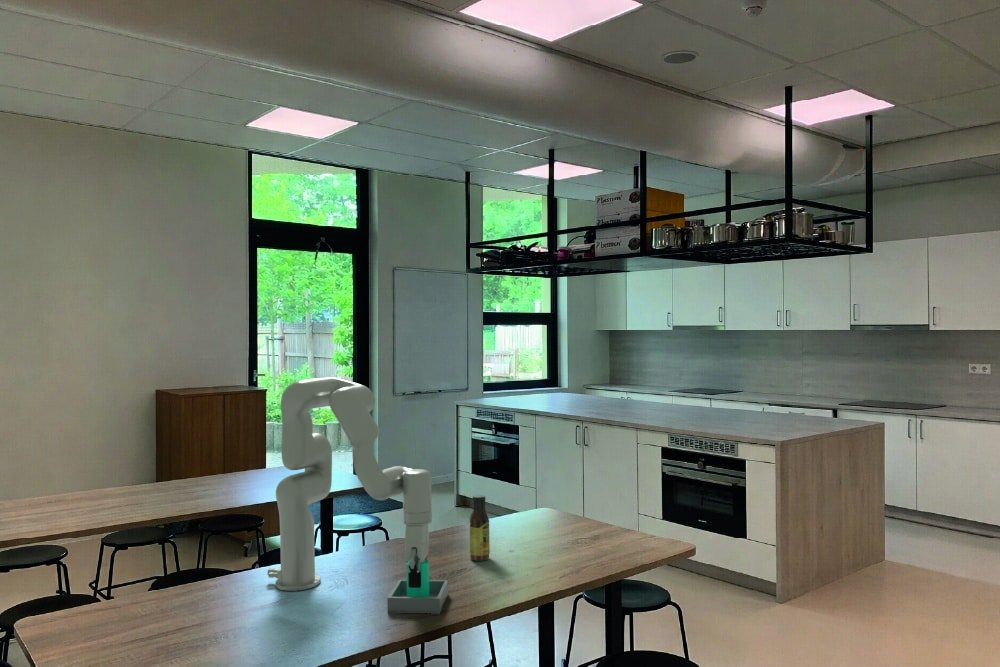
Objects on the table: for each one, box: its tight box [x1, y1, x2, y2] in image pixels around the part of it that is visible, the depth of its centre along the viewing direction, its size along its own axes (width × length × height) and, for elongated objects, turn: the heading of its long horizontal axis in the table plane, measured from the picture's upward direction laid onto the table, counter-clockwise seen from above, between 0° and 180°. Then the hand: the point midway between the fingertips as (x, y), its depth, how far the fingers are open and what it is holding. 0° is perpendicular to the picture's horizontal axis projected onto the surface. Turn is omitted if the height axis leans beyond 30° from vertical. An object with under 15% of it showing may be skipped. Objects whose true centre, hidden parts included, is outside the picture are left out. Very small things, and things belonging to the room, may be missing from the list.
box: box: [386, 579, 449, 615], centre depth 195 cm, size 14×14×4 cm
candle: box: [405, 559, 430, 597], centre depth 195 cm, size 6×6×12 cm
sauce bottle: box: [469, 494, 491, 562], centre depth 232 cm, size 7×6×20 cm
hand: (418, 580), depth 195 cm, fingers open, 9 cm apart
